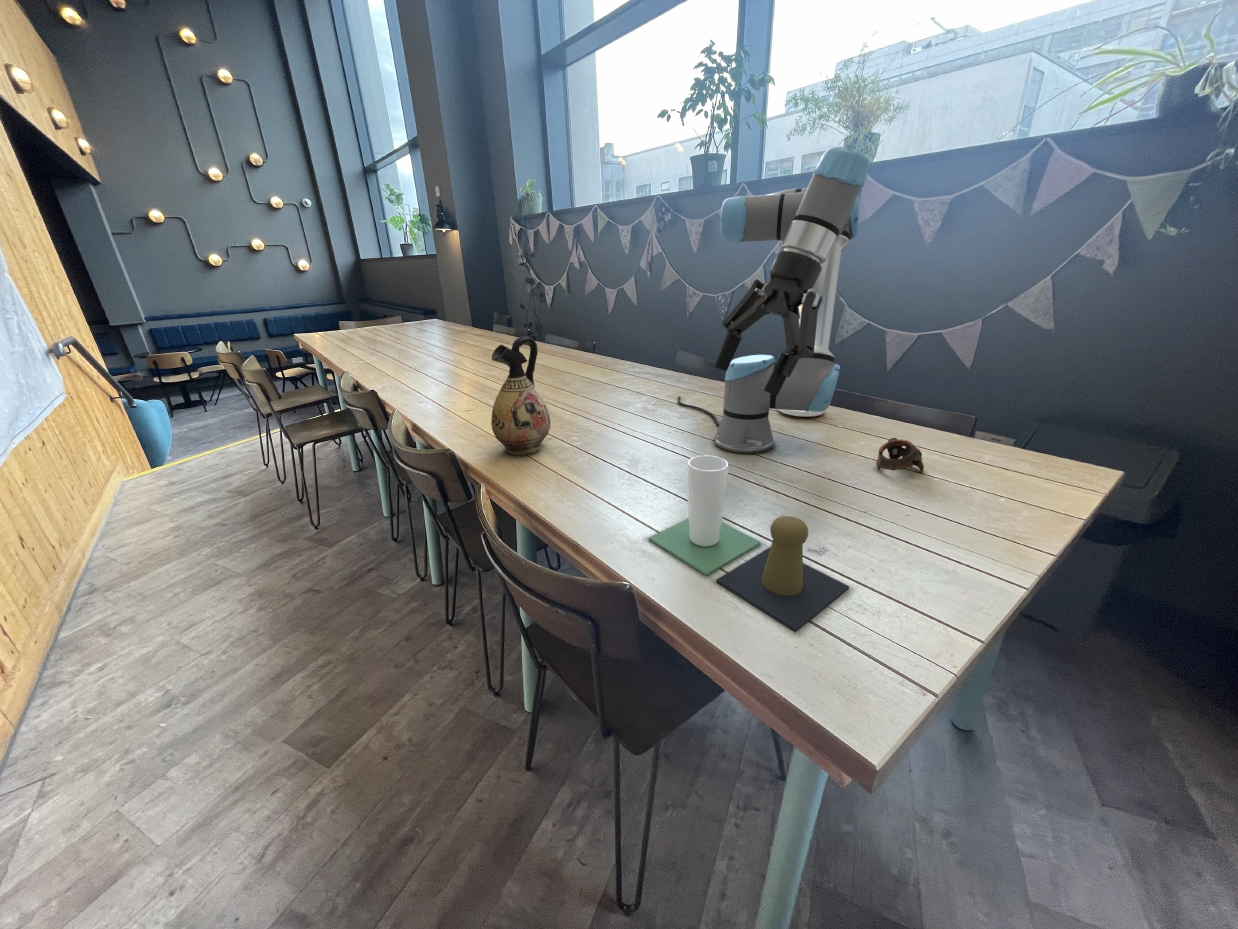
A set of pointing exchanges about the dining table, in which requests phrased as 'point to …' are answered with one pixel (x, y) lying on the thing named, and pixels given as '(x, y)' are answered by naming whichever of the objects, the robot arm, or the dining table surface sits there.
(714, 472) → the drinking glass
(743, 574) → the slate mat
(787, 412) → the plastic lid
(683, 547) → the sage mat
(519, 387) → the ceramic jug
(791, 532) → the olive game pawn
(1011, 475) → the dining table surface
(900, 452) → the brown notched ring
